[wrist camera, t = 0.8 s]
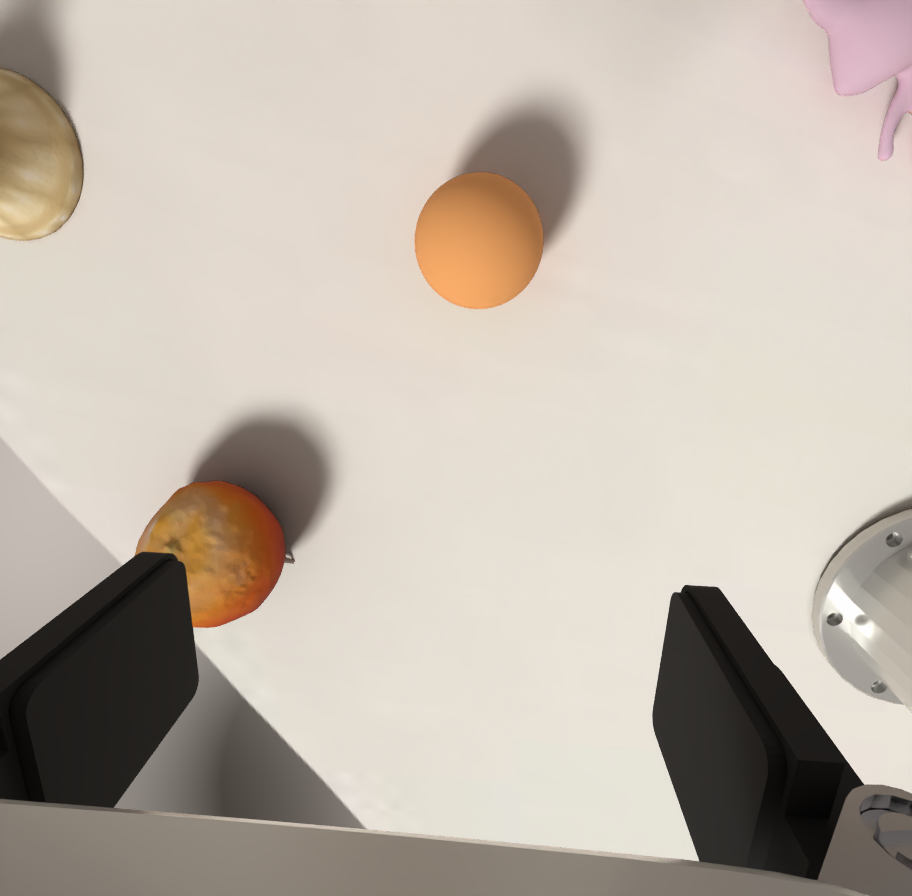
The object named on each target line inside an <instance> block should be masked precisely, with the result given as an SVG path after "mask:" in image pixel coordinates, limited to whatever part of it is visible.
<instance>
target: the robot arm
mask: <svg viewBox="0 0 912 896" xmlns="http://www.w3.org/2000/svg"><path fill="white" fill-rule="evenodd" d="M812 624H813V632H814V636H815V638H816V641H817V644H818V647H819V649H820V651H821V652H822V654H823V655H824V657H825V658H826V660H827V661H828V663H829V664H830V665H831V666H832V667H833V668H834V669H835V671H836V672H837V673H838V674H839V675H840V676H841V677H842V678H843V679H844V680H845V681H846V682H848V683H849V684H850V685H852V686H853V687H854V688H856V689H857V690H859V691H861V692H863V693H865V694H866V695H868V696H870V697H873V698H876V699H879V700H883V701H886V702H890V703H893V704H902V705H905V706H906V707H907V708H908V709H909V710H910V711H911V712H912V509H908V510H904V511H902V512H899V513H897V514H894V515H892V516H889V517H887V518H884V519H882V520H880V521H879V522H877V523H875V524H874V525H872V526H870V527H869V528H867V529H865V530H863V531H862V532H861V533H859V534H858V535H857V536H856V537H855V538H853V539H852V540H851V541H850V542H849V543H847V544H846V545H845V546H844V547H843V548H842V549H841V550H840V552H839V553H838V554H837V555H836V556H835V557H834V559H833V560H832V561H831V562H830V564H829V565H828V567H827V569H826V570H825V572H824V574H823V576H822V577H821V579H820V581H819V584H818V587H817V590H816V593H815V596H814V600H813V608H812ZM198 681H199V675H198V667H197V658H196V650H195V642H194V633H193V625H192V617H191V608H190V600H189V591H188V583H187V575H186V568H185V565H184V563H183V562H181V561H178V559H177V557H176V556H175V555H174V554H173V553H159V552H141V553H139V554H137V555H136V556H134V557H133V558H132V559H131V560H129V561H128V562H127V563H125V564H124V565H123V566H122V567H120V568H119V569H118V570H116V571H115V572H114V573H112V574H111V575H110V576H109V577H107V578H106V579H105V580H103V581H102V582H101V583H99V584H98V585H97V586H96V587H94V588H93V589H92V590H90V591H89V592H88V593H86V594H85V595H84V596H83V597H81V598H80V599H79V600H77V601H76V602H75V603H73V604H72V605H71V606H69V607H68V608H67V609H66V610H64V611H63V612H62V613H60V614H59V615H58V616H56V617H55V618H54V619H53V620H51V621H50V622H49V623H47V624H46V625H45V626H43V627H42V628H41V629H40V630H38V631H37V632H36V633H34V634H33V635H32V636H31V637H29V638H28V639H27V640H25V641H24V642H23V643H21V644H20V645H19V646H18V647H16V648H15V649H14V650H12V651H11V652H10V653H8V654H7V655H6V656H5V657H3V658H2V659H1V660H0V896H912V794H911V793H909V792H906V791H904V790H902V789H897V788H893V787H889V786H885V785H864V784H863V783H862V781H861V780H860V778H859V777H858V776H857V774H856V773H855V772H854V770H853V769H852V767H851V766H850V765H849V763H848V762H847V761H846V759H845V758H844V756H843V755H842V754H841V752H840V751H839V750H838V748H837V747H836V745H835V744H834V743H833V741H832V740H831V739H830V737H829V736H828V734H827V733H826V732H825V730H824V729H823V728H822V726H821V725H820V723H819V722H818V721H817V719H816V718H815V717H814V715H813V714H812V712H811V711H810V710H809V708H808V707H807V706H806V704H805V703H804V701H803V700H802V699H801V697H800V696H799V695H798V693H797V692H796V690H795V689H794V688H793V686H792V685H791V684H790V682H789V681H788V679H787V678H786V677H785V675H784V674H783V673H782V671H781V670H780V669H779V668H778V667H777V666H776V665H774V664H773V662H772V661H771V660H770V658H769V657H768V655H767V654H766V653H765V651H764V650H763V648H762V647H761V646H760V644H759V643H758V641H757V640H756V639H755V637H754V636H753V635H752V633H751V632H750V630H749V629H748V628H747V626H746V625H745V623H744V622H743V621H742V619H741V618H740V616H739V615H738V614H737V612H736V611H735V610H734V608H733V607H732V605H731V604H730V603H729V601H728V600H727V598H726V597H725V596H724V594H723V593H722V591H721V590H720V589H719V588H718V587H707V586H691V585H685V586H684V587H683V589H682V591H681V593H678V592H674V593H673V594H672V596H671V601H670V607H669V613H668V619H667V626H666V632H665V638H664V644H663V650H662V657H661V663H660V669H659V675H658V681H657V688H656V694H655V700H654V706H653V727H654V732H655V735H656V738H657V741H658V744H659V747H660V749H661V752H662V755H663V758H664V761H665V764H666V767H667V769H668V772H669V775H670V778H671V781H672V784H673V787H674V790H675V792H676V795H677V798H678V801H679V804H680V807H681V810H682V812H683V815H684V818H685V821H686V824H687V827H688V830H689V832H690V835H691V838H692V841H693V844H694V847H695V850H696V853H697V855H698V858H699V861H700V862H698V861H691V860H684V859H673V858H661V857H651V856H641V855H632V854H622V853H613V852H603V851H592V850H582V849H571V848H561V847H550V846H539V845H529V844H518V843H508V842H497V841H487V840H476V839H466V838H455V837H444V836H434V835H423V834H411V833H400V832H389V831H378V830H367V829H355V828H344V827H333V826H322V825H310V824H299V823H286V822H275V821H264V820H253V819H241V818H230V817H216V816H204V815H193V814H180V813H169V812H155V811H144V810H132V809H119V808H114V806H115V805H116V804H117V802H118V801H119V799H120V798H121V797H122V795H123V794H124V792H125V791H126V790H127V788H128V787H129V786H130V784H131V783H132V781H133V780H134V778H135V777H136V776H137V774H138V773H139V772H140V770H141V769H142V768H143V766H144V765H145V764H146V762H147V761H148V759H149V758H150V757H151V755H152V754H153V752H154V751H155V750H156V748H157V747H158V746H159V744H160V743H161V741H162V740H163V738H164V737H165V736H166V734H167V733H168V732H169V730H170V729H171V727H172V726H173V725H174V723H175V722H176V721H177V719H178V718H179V716H180V715H181V714H182V712H183V711H184V709H185V708H186V707H187V705H188V704H189V702H190V701H191V700H192V698H193V697H194V695H195V693H196V690H197V686H198Z"/></svg>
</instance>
